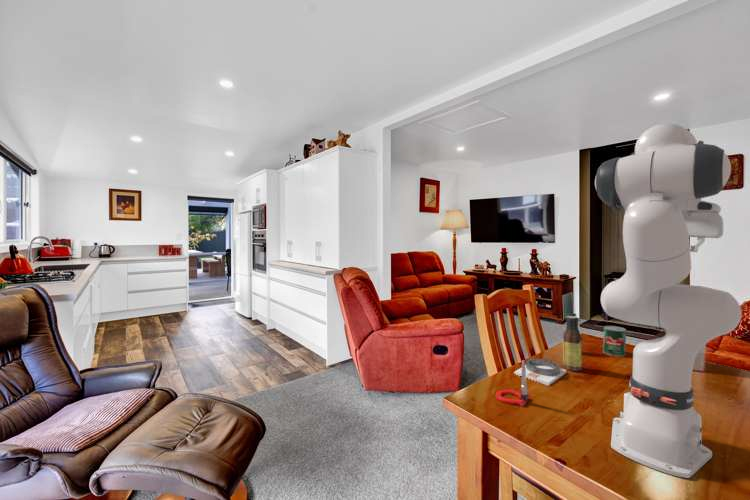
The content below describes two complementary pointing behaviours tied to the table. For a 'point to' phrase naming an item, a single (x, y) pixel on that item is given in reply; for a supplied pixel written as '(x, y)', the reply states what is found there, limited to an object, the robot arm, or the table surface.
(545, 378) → the socket board
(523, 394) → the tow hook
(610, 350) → the canned tomato
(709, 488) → the table surface
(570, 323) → the sauce bottle
